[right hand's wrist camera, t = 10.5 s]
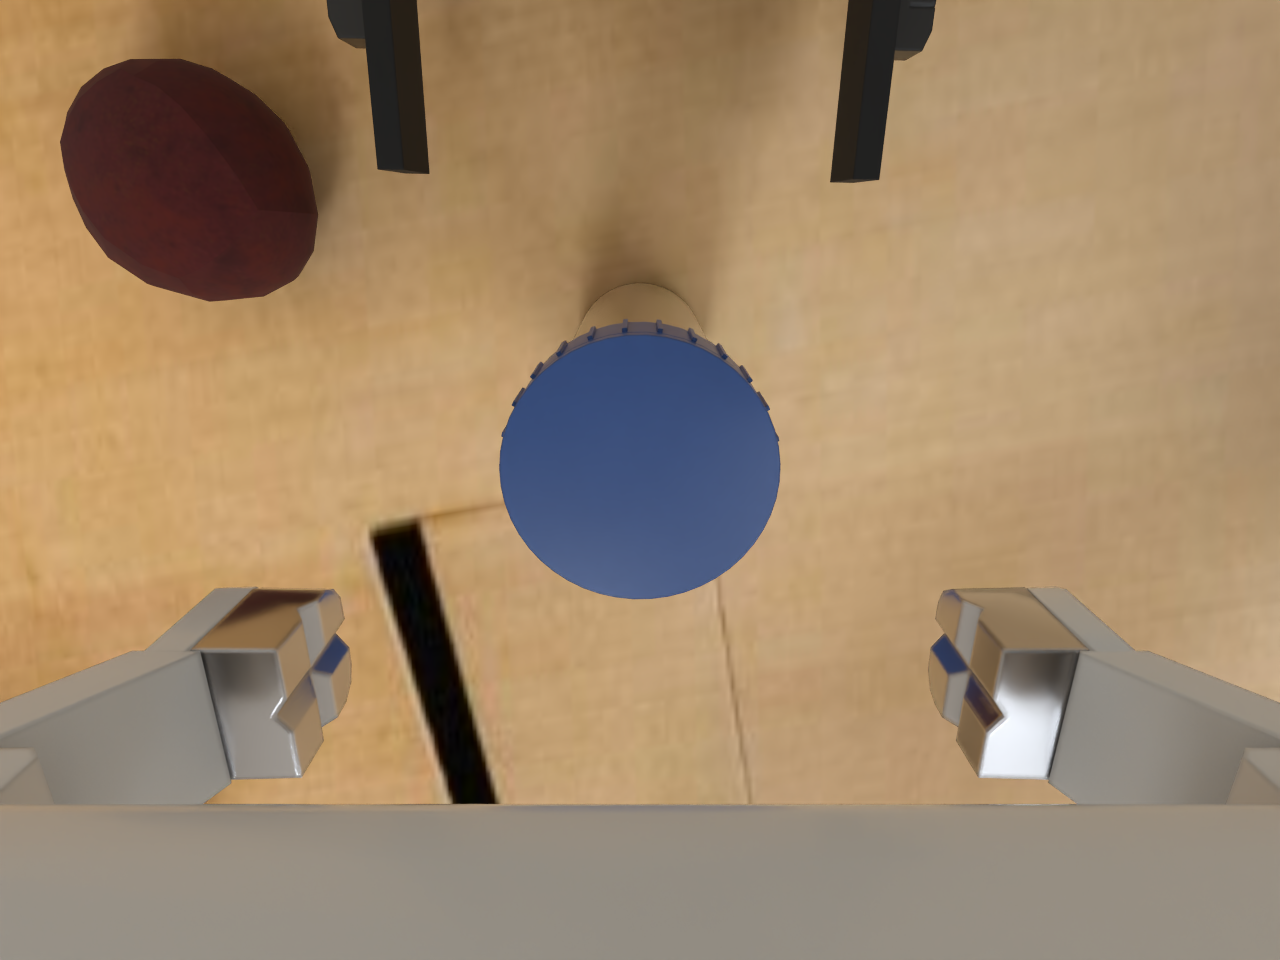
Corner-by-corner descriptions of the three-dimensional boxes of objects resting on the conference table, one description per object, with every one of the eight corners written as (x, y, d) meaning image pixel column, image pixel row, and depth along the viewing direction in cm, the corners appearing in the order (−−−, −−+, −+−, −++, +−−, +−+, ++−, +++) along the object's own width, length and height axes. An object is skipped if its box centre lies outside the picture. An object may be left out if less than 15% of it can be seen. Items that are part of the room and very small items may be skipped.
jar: (679, 264, 29) (715, 317, 15) (718, 383, 31) (784, 533, 17) (558, 308, 30) (485, 400, 16) (604, 423, 32) (574, 600, 17)
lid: (724, 277, 16) (733, 286, 14) (799, 521, 18) (816, 555, 16) (467, 371, 17) (448, 390, 15) (568, 596, 19) (560, 635, 17)
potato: (237, 32, 26) (101, -26, 20) (391, 213, 28) (316, 216, 22) (107, 171, 28) (-58, 160, 21) (263, 333, 30) (156, 368, 23)
